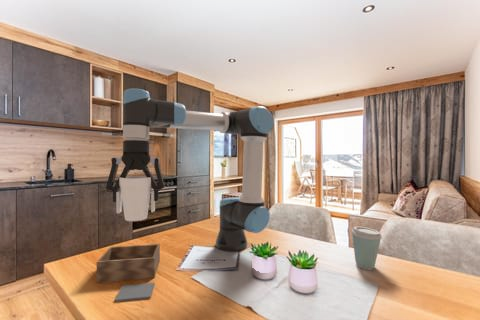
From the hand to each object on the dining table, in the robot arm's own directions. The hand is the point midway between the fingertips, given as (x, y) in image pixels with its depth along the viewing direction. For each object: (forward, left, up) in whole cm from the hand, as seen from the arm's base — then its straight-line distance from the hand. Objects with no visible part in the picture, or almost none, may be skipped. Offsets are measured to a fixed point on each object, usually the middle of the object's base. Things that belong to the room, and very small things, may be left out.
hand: (136, 211), depth 74 cm
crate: (+5, -15, -26) cm, 30 cm away
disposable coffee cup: (-85, -3, -26) cm, 89 cm away
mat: (0, 0, -26) cm, 26 cm away
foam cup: (0, 0, -2) cm, 2 cm away
